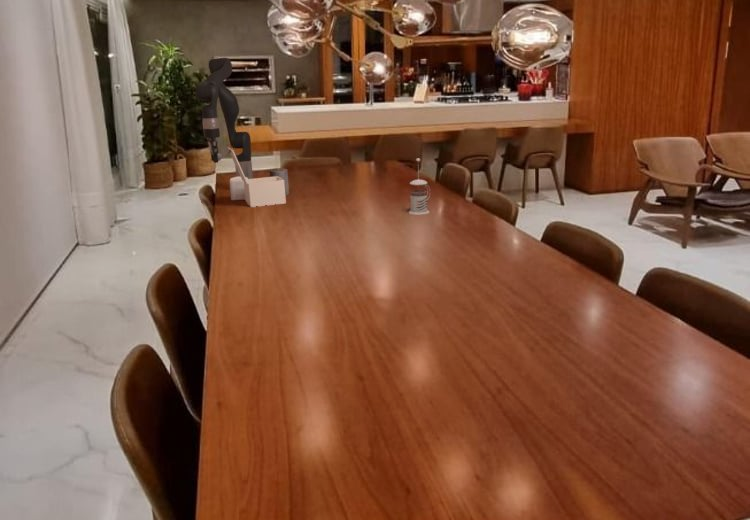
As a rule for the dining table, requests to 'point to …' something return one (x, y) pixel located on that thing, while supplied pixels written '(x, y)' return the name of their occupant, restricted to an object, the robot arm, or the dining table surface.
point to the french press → (421, 199)
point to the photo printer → (237, 188)
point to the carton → (265, 191)
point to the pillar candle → (282, 174)
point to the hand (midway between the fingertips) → (214, 161)
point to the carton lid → (234, 162)
